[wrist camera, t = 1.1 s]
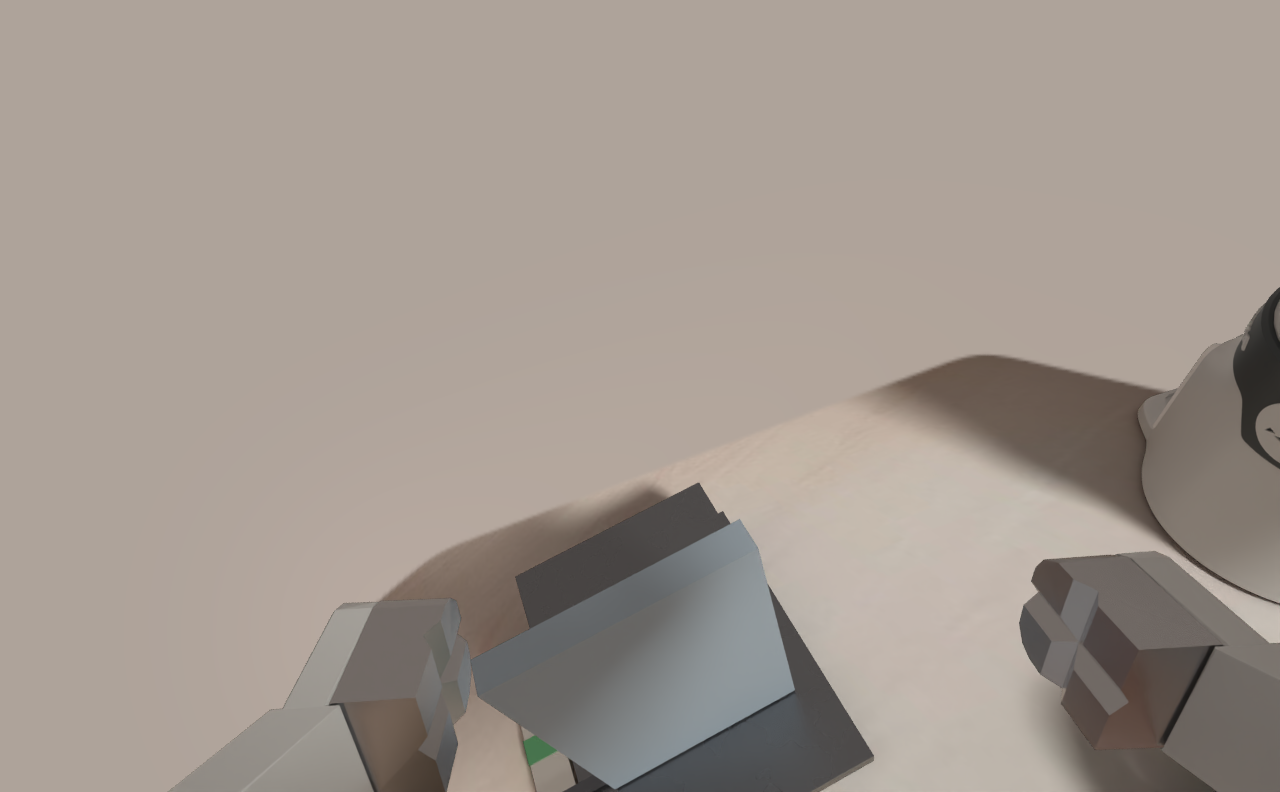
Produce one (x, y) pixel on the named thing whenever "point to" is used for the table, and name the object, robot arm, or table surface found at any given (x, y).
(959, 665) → the table surface
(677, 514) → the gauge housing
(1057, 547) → the table surface
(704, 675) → the grey upright panel
